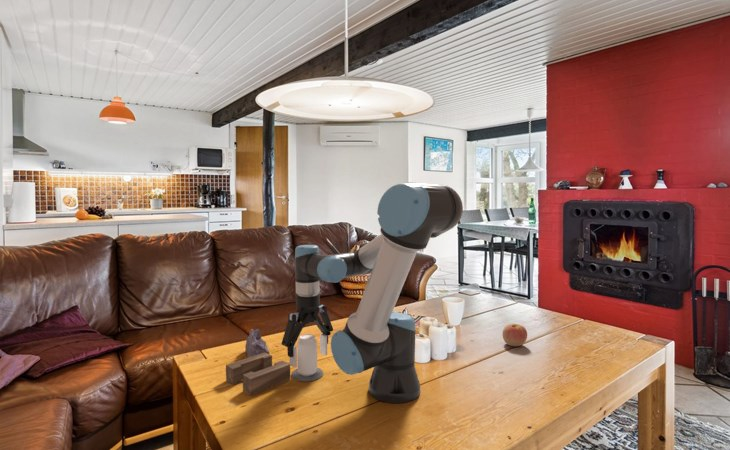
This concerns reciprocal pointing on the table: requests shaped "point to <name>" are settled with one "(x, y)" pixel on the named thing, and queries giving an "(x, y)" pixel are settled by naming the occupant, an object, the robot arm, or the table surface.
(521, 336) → the apple
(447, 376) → the table surface
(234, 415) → the table surface
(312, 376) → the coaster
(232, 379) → the notched wooden bars
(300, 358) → the beverage can
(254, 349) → the stone
